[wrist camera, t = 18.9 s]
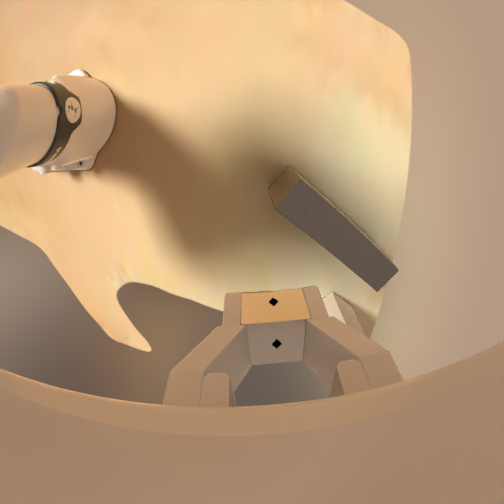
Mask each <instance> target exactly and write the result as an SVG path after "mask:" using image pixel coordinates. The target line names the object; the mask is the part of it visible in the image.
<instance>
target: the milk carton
mask: <svg viewBox="0 0 504 504" xmlns="http://www.w3.org/2000/svg"><path fill="white" fill-rule="evenodd" d="M323 302H324V305H325V308H326V310H327V313H328V316H329V317H332V316H334V317H335V318H337V319H338V320H340V321H342V322H343V323H345V324H346V325H348V326H350V327H351V328H353V329H354V330H356V331H357V332H359V333H361V334H362V335H364V336H365V337H366V335H365V333H364V331H363V329H362V326H361V324H360V322H359V320H358V318H357V316H356V314H355V312H354V310H353V308H352V307H351V306H350V305H349V304H348V303H346V302H345V301H344V300H343V299H341V298H340V297H339V296H337V295H336V294H335V293H334V292H331V293H330V294H329V295H328V296H326V297H325V298H324V299H323Z"/></svg>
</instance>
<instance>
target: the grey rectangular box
mask: <svg viewBox="0 0 504 504" xmlns="http://www.w3.org/2000/svg"><path fill="white" fill-rule="evenodd" d="M268 190H269V193H270V196H271V199H272V202H273V205H274V208H275V209H276V210H277V211H278V212H280V213H281V214H282V215H284V216H285V217H286V218H288V219H289V220H290V221H291V222H293V223H294V224H295V225H297V226H298V227H299V228H300V229H302V230H303V231H304V232H305V233H307V234H308V235H309V236H311V237H312V238H313V239H314V240H316V241H317V242H318V243H319V244H321V245H322V246H323V247H324V248H325V249H327V250H328V251H329V252H330V253H332V254H333V255H334V256H335V257H337V258H338V259H339V260H340V261H341V262H343V263H344V264H345V265H346V266H347V267H349V268H350V269H351V270H352V271H353V272H355V273H356V274H357V275H358V276H359V277H360V278H362V279H363V280H364V281H365V282H366V283H368V284H369V285H370V286H371V287H372V288H373V289H374V290H376V291H377V292H378V291H379V290H380V289H381V288H382V287H383V286H384V285H385V284H386V283H387V282H388V281H389V280H390V279H391V278H392V277H393V276H394V275H395V274H396V273H397V272H398V269H397V268H396V266H395V265H394V264H393V263H392V262H391V261H390V259H389V258H388V257H387V256H386V255H385V254H384V253H383V252H382V250H381V249H380V248H379V247H378V246H377V245H376V244H375V243H374V242H373V241H372V240H371V239H370V238H369V237H368V236H367V235H366V234H365V233H364V232H363V231H362V230H361V229H360V228H359V227H358V226H357V225H356V224H355V223H354V222H353V221H352V220H351V219H349V218H348V217H347V216H346V215H345V214H344V213H343V212H342V211H341V210H340V209H339V208H337V207H336V206H335V205H334V204H333V203H332V202H331V201H330V200H329V199H327V198H326V197H325V196H324V195H323V194H322V193H321V192H320V191H318V190H317V189H316V188H315V187H314V186H313V185H311V184H310V183H309V182H308V181H307V180H305V179H304V178H303V177H302V176H301V175H300V174H298V173H297V172H296V171H295V170H293V169H292V168H291V167H290V166H289V165H288V166H287V167H286V169H285V170H284V171H283V172H282V173H281V175H280V176H279V177H278V178H277V179H276V181H275V182H274V183H273V184H272V185H271V187H270V188H269V189H268Z"/></svg>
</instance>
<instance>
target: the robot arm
mask: <svg viewBox="0 0 504 504" xmlns="http://www.w3.org/2000/svg"><path fill="white" fill-rule="evenodd" d="M115 116H116V107H115V101H114V98H113V95H112V93H111V91H110V89H109V88H108V87H107V86H106V85H105V84H104V83H102V82H101V81H99V80H96V79H93V78H91V77H89V76H88V75H87V73H86V72H85V71H83V70H82V69H77V70H75V71H73V72H72V73H70V74H69V75H56V76H53V78H52V79H51V80H49V81H40V82H34V83H32V84H29V85H2V86H0V179H2V178H4V177H5V176H7V175H9V174H11V173H14V172H16V171H18V170H20V169H22V168H25V167H31V168H32V169H33V170H34V171H35V172H39V173H40V174H46V173H49V172H51V171H62V170H87V169H90V168H91V167H92V166H93V164H94V161H95V159H96V155H97V153H98V151H99V150H100V149H101V148H102V147H103V145H104V144H105V143H106V141H107V140H108V138H109V136H110V134H111V132H112V129H113V126H114V122H115ZM81 161H82V165H81ZM292 361H303V362H304V363H305V364H306V365H307V366H308V367H309V368H310V369H311V370H312V371H313V372H314V373H315V374H316V375H317V376H318V377H319V378H320V379H321V380H322V381H323V382H324V383H325V384H326V385H327V386H328V387H329V388H330V389H331V390H330V393H329V397H328V398H325V399H318V400H312V401H304V402H296V403H287V404H276V405H264V406H245V407H237V406H236V402H235V398H234V391H235V390H236V388H237V387H238V385H239V384H240V383H241V381H242V379H243V378H244V377H245V375H246V373H247V372H248V371H249V369H250V367H251V365H257V364H258V365H259V364H267V363H276V362H277V363H279V362H292ZM0 504H504V341H502V342H501V343H498V344H497V345H494V346H492V347H490V348H488V349H487V350H484V351H482V352H480V353H478V354H475V355H473V356H471V357H469V358H466V359H464V360H462V361H459V362H456V363H454V364H452V365H449V366H446V367H443V368H441V369H438V370H435V371H432V372H429V373H427V374H424V375H420V376H417V377H414V378H411V379H408V380H404V381H403V379H402V377H401V375H400V373H399V371H398V369H397V366H396V365H395V362H394V360H393V358H392V356H391V354H390V352H389V351H388V350H386V349H385V348H383V347H382V346H380V345H378V344H377V343H375V342H374V341H372V340H370V339H369V338H367V337H365V336H364V335H362V334H361V333H359V332H357V331H356V330H354V329H353V328H351V327H350V326H348V325H346V324H345V323H343V322H342V321H340V320H338V319H337V318H335V317H334V316H332V317H329V316H328V313H327V310H326V308H325V305H324V302H323V300H322V297H321V295H320V292H319V290H318V287H316V286H311V287H304V288H298V289H288V290H278V291H258V292H242V293H241V292H239V293H226V295H225V302H224V312H223V323H222V326H218V327H216V329H214V330H213V331H212V332H211V333H210V334H209V335H208V336H207V337H206V338H205V339H204V340H203V341H202V342H201V343H200V344H199V345H198V346H196V347H195V348H194V349H193V350H192V351H191V352H190V353H189V354H188V355H187V356H186V357H185V358H184V359H183V360H182V361H180V363H179V364H177V365H176V366H175V367H174V368H173V369H172V370H171V371H170V374H169V378H168V383H167V387H166V391H165V395H164V400H163V405H157V404H147V403H138V402H130V401H123V400H117V399H111V398H105V397H99V396H94V395H88V394H84V393H80V392H75V391H71V390H66V389H63V388H59V387H55V386H51V385H48V384H44V383H41V382H38V381H35V380H32V379H28V378H25V377H22V376H20V375H17V374H14V373H11V372H9V371H6V370H3V369H1V368H0Z"/></svg>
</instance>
